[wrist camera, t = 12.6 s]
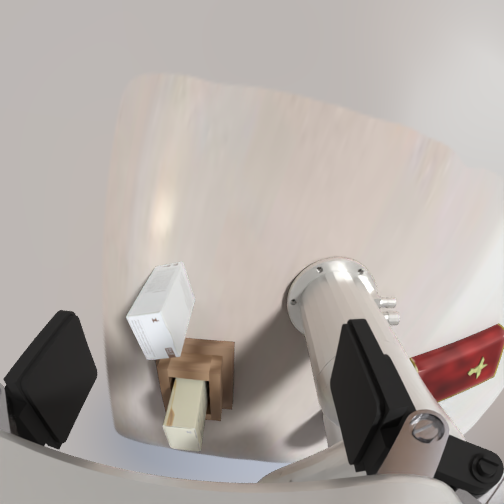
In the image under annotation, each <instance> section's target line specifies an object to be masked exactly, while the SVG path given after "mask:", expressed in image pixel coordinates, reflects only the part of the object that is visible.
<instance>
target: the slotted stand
mask: <svg viewBox="0 0 504 504" xmlns="http://www.w3.org/2000/svg"><path fill="white" fill-rule="evenodd" d="M234 344H235V342H228V341H215V340H203V339H192V338H185V340H184V344H183V348H182V352H181V356H180V357H173V358H164V359H155V361H156V367H157V372H158V378H159V383H160V389H161V394H162V399H163V402H164V407H165V412H167V408H168V404H169V400H170V396H171V393H172V389H173V385H174V382H175V378H184V379H193V380H203V381H209V397H208V403H207V410H206V417H205V420H216V421H221V413H222V409H232V404H233V373H234Z"/></svg>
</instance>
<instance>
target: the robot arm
mask: <svg viewBox="0 0 504 504" xmlns="http://www.w3.org/2000/svg"><path fill="white" fill-rule="evenodd" d="M318 267H320V268H319V269H317V268H318ZM359 269H360V270H359ZM358 270H359V271H358ZM292 299H294V300H292ZM395 306H396V299H395V298H381V297H380V296H379V295H378V292H377V285H376V282H375V280H374V278H373V276H372V275H371V273H370V272H369V271H368V269H367V268H366V267H364V266H363V265H362V264H361V263H359V262H357V261H355V260H352V259H348V258H343V257H333V258H326V259H323V260H320V261H317V262H315V263H313V264H311V265H310V266H308V267H307V268H306V269H304V270H303V271H302V272H301V273H300V274H299V275H298V276H297V277H296V278H295V280H294V281H293V283H292V285H291V287H290V289H289V292H288V296H287V310H288V315H289V318H290V320H291V322H292V324H293V325H294V327H295V328H296V329H297V330H298V331H299V332H300V333H302V334H304V335H305V338H306V343H307V348H308V352H309V357H310V362H311V367H312V372H313V377H314V382H315V387H316V392H317V397H318V401H319V404H320V407H321V409H322V411H323V413H324V414H325V415H326V417H327V418H328V419H329V420H330V421H331V422H333V423H334V424H335V425H337V426H338V427H340V429H341V433H342V438H343V440H342V441H340V442H338V443H336V444H334V445H332V446H331V447H329V448H327V449H325V450H323V451H320V452H318V453H316V454H314V455H311V456H309V457H307V458H304V459H302V460H299V461H297V462H294V463H292V464H289V465H287V466H285V467H282V468H280V469H277V470H275V471H273V472H271V473H269V474H268V475H266V476H265V477H263V478H262V479H261V480H260V481H258V483H224V482H209V481H197V480H187V479H178V478H170V477H163V476H157V475H151V474H145V473H140V472H134V471H129V470H125V469H120V468H116V467H111V466H107V465H103V464H99V463H95V462H91V461H88V460H84V459H81V458H78V457H74V456H71V455H68V454H65V453H61V452H59V451H56V450H53V449H50V448H47V447H45V446H44V445H45V443H46V444H47V445H48V446H51V447H54V448H56V449H60V447H61V445H62V443H64V442H66V440H67V438H68V436H69V433H70V431H71V429H72V427H73V425H74V423H75V420H76V419H77V417H78V414H79V412H80V410H81V408H82V406H83V404H84V402H85V400H86V398H87V396H88V394H89V392H90V390H91V388H92V386H93V384H94V382H95V380H96V378H97V369H96V366H95V363H94V361H93V358H92V355H91V353H90V350H89V347H88V344H87V342H86V339H85V335H84V332H83V329H82V326H81V323H80V320H79V318H78V316H76V315H75V313H74V312H72V311H63V310H60V311H58V312H57V313H56V314H55V315H54V317H53V318H52V319H51V320H50V321H49V322H48V324H47V325H46V326H45V327H44V328H43V330H42V331H41V332H40V333H39V334H38V336H37V337H36V338H35V339H34V341H33V342H32V343H31V344H30V345H29V347H28V348H27V349H26V351H25V352H24V353H23V354H22V355H21V357H20V358H19V360H18V361H17V362H16V363H15V364H14V366H13V367H12V368H11V370H10V371H9V372H8V374H7V375H6V377H5V378H4V381H5V383H6V386H5V388H4V387H3V385H2V384H0V504H504V472H503V470H504V468H503V463H502V461H501V459H500V458H499V456H498V455H497V454H495V453H493V452H492V451H489V450H487V449H484V448H481V447H479V446H476V445H474V444H471V443H469V442H467V441H466V439H465V438H464V436H463V435H462V433H461V432H460V430H459V429H458V427H457V426H456V425H455V424H454V422H453V421H452V420H451V419H450V417H449V416H448V415H447V414H446V412H445V411H444V410H443V409H442V407H441V406H440V405H439V404H438V402H437V401H436V400H435V398H434V397H433V395H432V394H431V393H430V391H429V390H428V388H427V387H426V385H425V384H424V382H423V381H422V379H421V377H420V376H419V374H418V372H417V371H416V369H415V368H414V366H413V364H412V362H411V361H410V359H409V357H408V356H407V354H406V352H405V350H404V349H403V347H402V345H401V344H400V342H399V340H398V338H397V337H396V335H395V333H394V332H393V330H392V328H391V327H390V325H398V323H399V321H400V315H399V312H397V311H389V312H381V310H380V307H386V308H394V307H395Z"/></svg>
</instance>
